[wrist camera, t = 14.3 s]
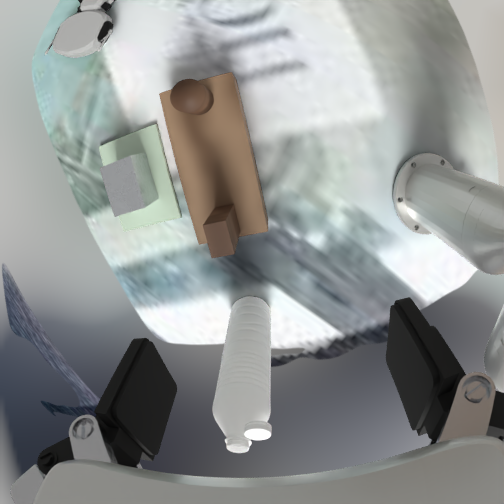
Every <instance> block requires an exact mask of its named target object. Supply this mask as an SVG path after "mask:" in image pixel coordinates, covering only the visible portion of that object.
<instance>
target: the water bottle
mask: <svg viewBox="0 0 504 504" xmlns="http://www.w3.org/2000/svg"><path fill="white" fill-rule="evenodd" d="M270 369H271V311H270V308H269V306H268V304H267V303H266V302H265V301H264V300H262V299H260V298H258V297H252V296H247V297H243V298H241V299H239V300H237V301H236V302H235V303H234V305H233V306H232V309H231V313H230V319H229V324H228V329H227V335H226V340H225V345H224V350H223V355H222V360H221V367H220V372H219V377H218V382H217V388H216V394H215V398H214V403H213V408H212V410H213V415H214V418H215V420H216V422H217V423H218V425H219V427H220V428H221V430H222V431H223V433H224V434H225V436H226V437H227V438H226V439H225V442H226V444H227V445H226V447H227V449H228V450H229V451H231V452H235V453H244V452H247V451H248V450H249V446H250V445H251V443H252V442H251V441H250V440H251V439H253V440H264V439H267V438H269V437H270V436H271V425H270V424H269V423H267V421H268V419H269V417H270V412H271V408H270V407H271V405H270V378H271V377H270V376H271V375H270V374H271V371H270ZM266 424H267V425H266Z"/></svg>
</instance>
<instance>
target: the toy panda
mask: <svg viewBox="0 0 504 504" xmlns="http://www.w3.org/2000/svg"><path fill="white" fill-rule="evenodd" d="M78 1H79V2H80V6H79V7H78V11H77V12H78V13H77V14H74V15H72V16H70V17H69V18H67V19H66V20H65V21H64V22H63V23H62V24H61V25H60V27H59V29H58V31H57V33H56V35H55V38H54V40H53V41H52V43H51V44H50V46H49V48H48V49H47V50H46V52H45V55H46V54H47V53H48V51H49V49H50V47H51V46H52V44H53V49H54V51H55V52H56V53H58V54H61V55H63V56H66V57H71V58H78V57H83V56H87V55H90V54H92V53H94V52H96V51H97V50H98V52H99V51H100V50H101V48H102V46H103V45H104V43H105V42H106V41H107V39H108V38H109V36H110V34H111V33H112V32H113V31H112V29H113V23H112V18H111V17H110V16H108V15H107V14H106V13H104V12H105V11H108V9H109V8H110V7H111V5H110V4H111V3H112V2H113V1H115V0H78Z"/></svg>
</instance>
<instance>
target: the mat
mask: <svg viewBox="0 0 504 504" xmlns="http://www.w3.org/2000/svg"><path fill="white" fill-rule="evenodd" d="M99 150H100V154H101V158H102V162H103V166H106V165H108V164H111V163H113V162H115V161H118V160H120V159H123V158H125V157H128V156H131V155H136V154H140V153H145V152H146V155H147V158H148V162H149V166H150V169H151V173H152V176H153V180H154V183H155V187H156V190H157V193H158V197H159V199H158V200H156V201H155V202H153V203H151V204H150V205H148V206H147V207H146V208H142V209H139V210H136V211H132V212H129V213H126V214H122V215H119V219H120V222H121V225H122V228H123V231H124V232H126V231H129V230H133V229H137V228H141V227H145V226H149V225H153V224H157V223H161V222H165V221H169V220H174V219H178V218H181V217H182V215H181V212H180V208H179V205H178V201H177V198H176V194H175V191H174V187H173V183H172V180H171V176H170V172H169V169H168V165H167V161H166V157H165V153H164V149H163V146H162V142H161V137H160V133H159V129H158V125H157V124H154V125H151V126H149V127H146V128H143V129H141V130H138V131H135V132H133V133H130V134H128V135H125V136H123V137H120V138H118V139H116V140H113V141H111V142H109V143H106V144H104V145H102V146H100V147H99Z"/></svg>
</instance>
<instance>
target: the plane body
mask: <svg viewBox="0 0 504 504" xmlns="http://www.w3.org/2000/svg"><path fill="white" fill-rule="evenodd" d="M159 95H160V99H161V104H162V108H163V112H164V117H165V121H166V125H167V129H168V133H169V137H170V141H171V145H172V149H173V153H174V157H175V161H176V165H177V169H178V172H179V176H180V180H181V184H182V187H183V191H184V195H185V198H186V202H187V205H188V209H189V212H190V216H191V219H192V223H193V226H194V229H195V233H196V236H197V240H198V243H199V245H200V244H205V243H208V246H209V250H210V253H211V257H212V258H216V257H221V256H227V255H232V254H235V250H236V247H237V243H238V239H239V237H241V236H246V235H251V234H257V233H262V232H267V231H268V217H267V213H266V208H265V203H264V199H263V194H262V189H261V185H260V180H259V176H258V171H257V167H256V162H255V158H254V153H253V149H252V144H251V140H250V136H249V131H248V127H247V123H246V118H245V114H244V110H243V106H242V101H241V97H240V93H239V89H238V85H237V81H236V79H235V77H234V75H233V73H232V72H230V73H225V74H221V75H218V76H214V77H210V78H206V79H203V80H199V81H196V80H193V79H185V80H182V81H180V82H178V83H177V84H176V85H175V86H174V87H173V89H171V90H168V91H165V92H163V93H160V94H159Z"/></svg>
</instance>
